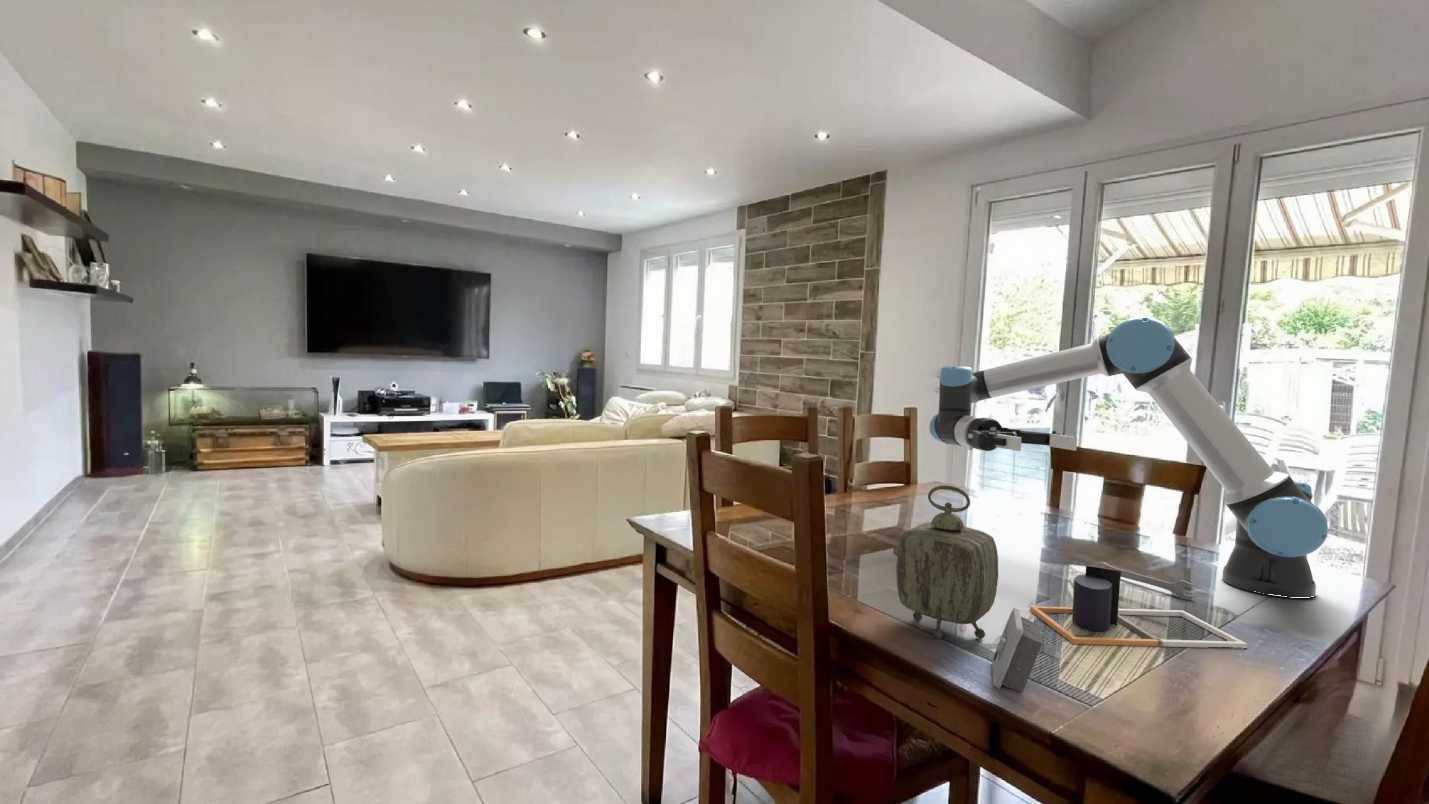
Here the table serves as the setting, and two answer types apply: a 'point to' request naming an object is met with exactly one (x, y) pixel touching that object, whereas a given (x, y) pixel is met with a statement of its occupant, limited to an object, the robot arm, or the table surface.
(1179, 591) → the combination wrench
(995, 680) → the electrical switch
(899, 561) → the tabletop clock
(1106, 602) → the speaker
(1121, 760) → the table surface
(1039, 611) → the rectangular frame
